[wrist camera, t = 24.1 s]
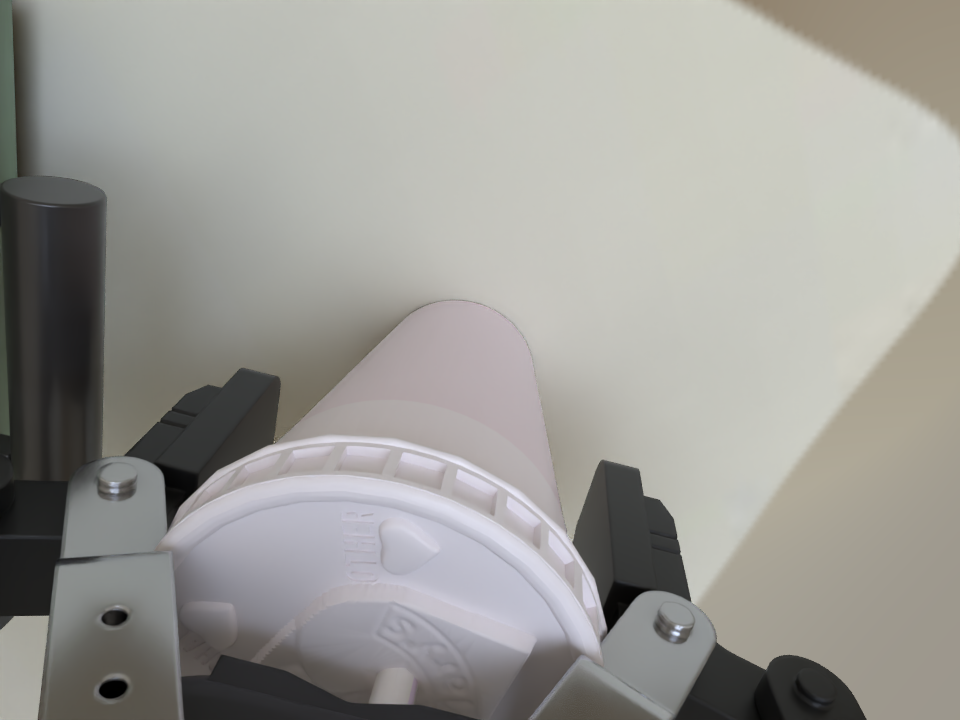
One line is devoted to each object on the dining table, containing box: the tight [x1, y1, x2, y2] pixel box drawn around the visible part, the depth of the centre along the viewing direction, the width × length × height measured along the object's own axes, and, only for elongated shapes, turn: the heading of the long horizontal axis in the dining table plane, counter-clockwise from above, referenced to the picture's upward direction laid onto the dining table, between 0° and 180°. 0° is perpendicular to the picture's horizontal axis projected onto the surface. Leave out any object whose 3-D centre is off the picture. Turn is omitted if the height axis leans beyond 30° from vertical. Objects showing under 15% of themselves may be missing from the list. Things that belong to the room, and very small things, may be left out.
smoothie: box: [154, 300, 607, 720], centre depth 12 cm, size 6×6×14 cm
